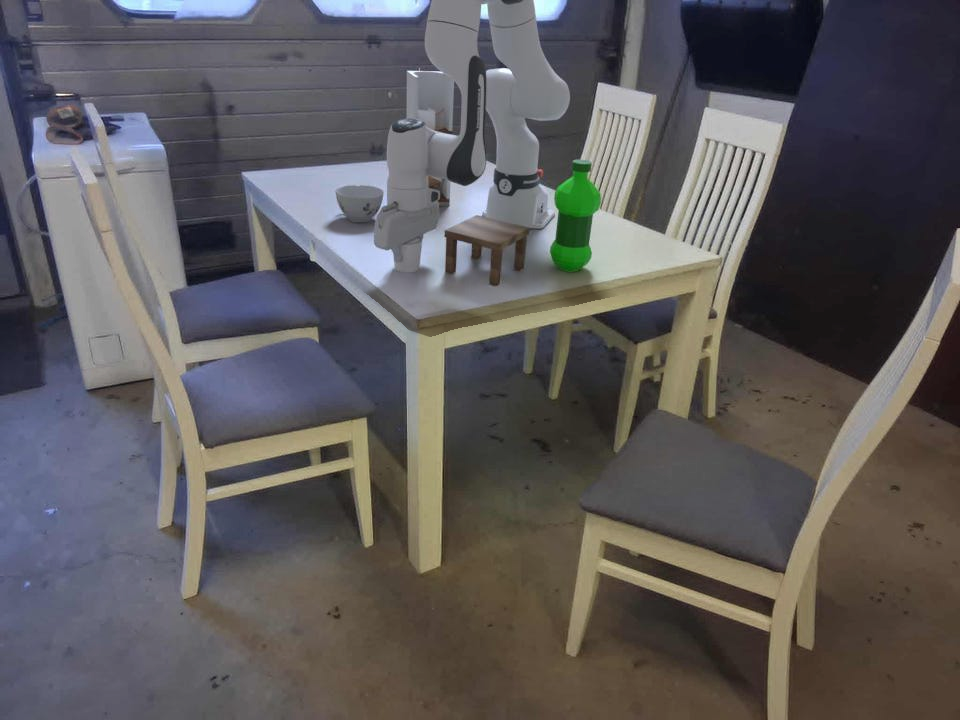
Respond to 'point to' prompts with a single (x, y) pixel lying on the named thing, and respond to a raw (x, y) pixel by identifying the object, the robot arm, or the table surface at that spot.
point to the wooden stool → (486, 243)
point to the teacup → (359, 201)
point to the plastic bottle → (575, 218)
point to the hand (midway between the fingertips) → (407, 257)
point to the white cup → (410, 256)
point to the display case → (432, 112)
